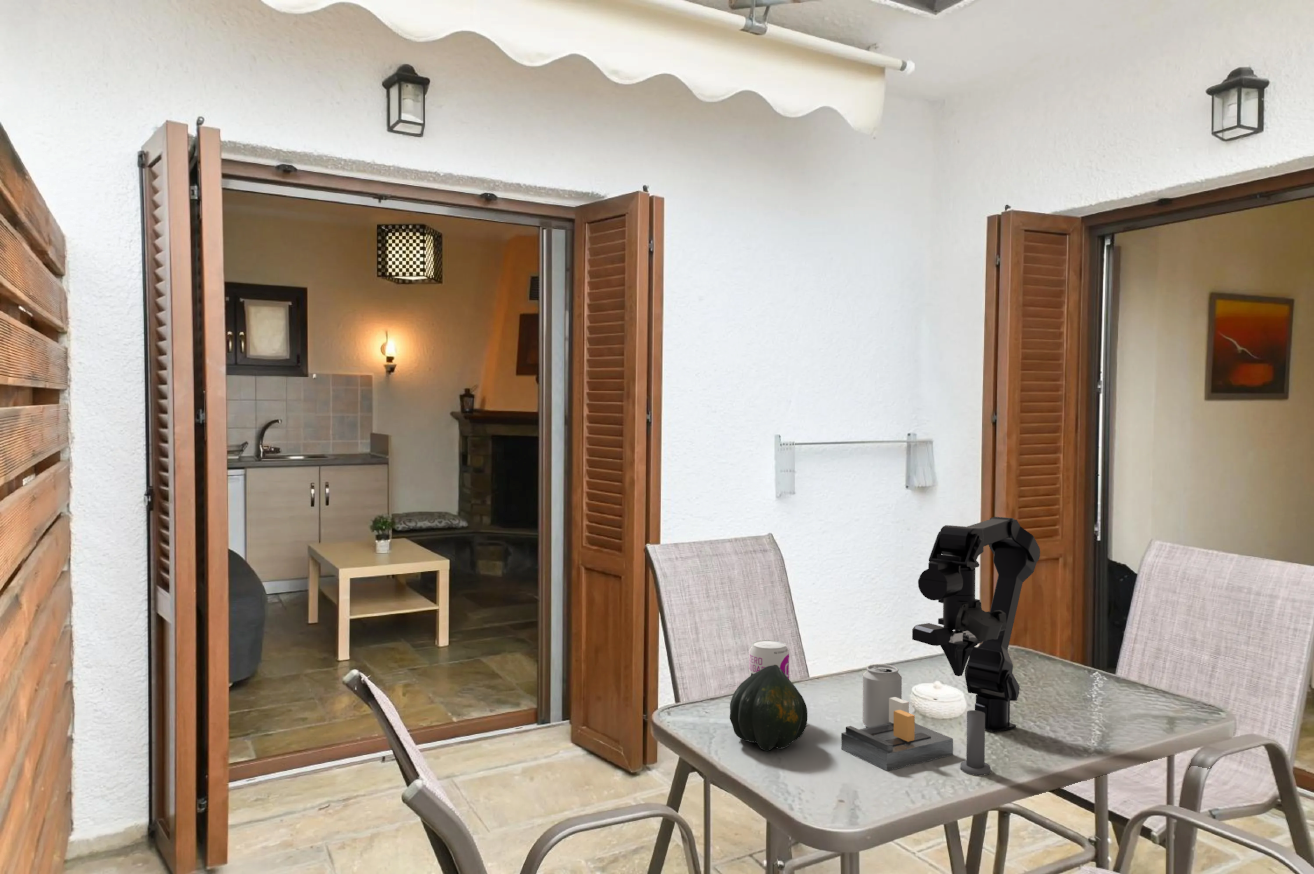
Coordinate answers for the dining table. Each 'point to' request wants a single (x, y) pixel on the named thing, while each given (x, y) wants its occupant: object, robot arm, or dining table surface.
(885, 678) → the can
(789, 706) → the squash
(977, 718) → the rubber post
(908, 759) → the breaker block
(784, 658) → the supplement can
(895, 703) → the slider
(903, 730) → the slider
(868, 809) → the dining table surface
